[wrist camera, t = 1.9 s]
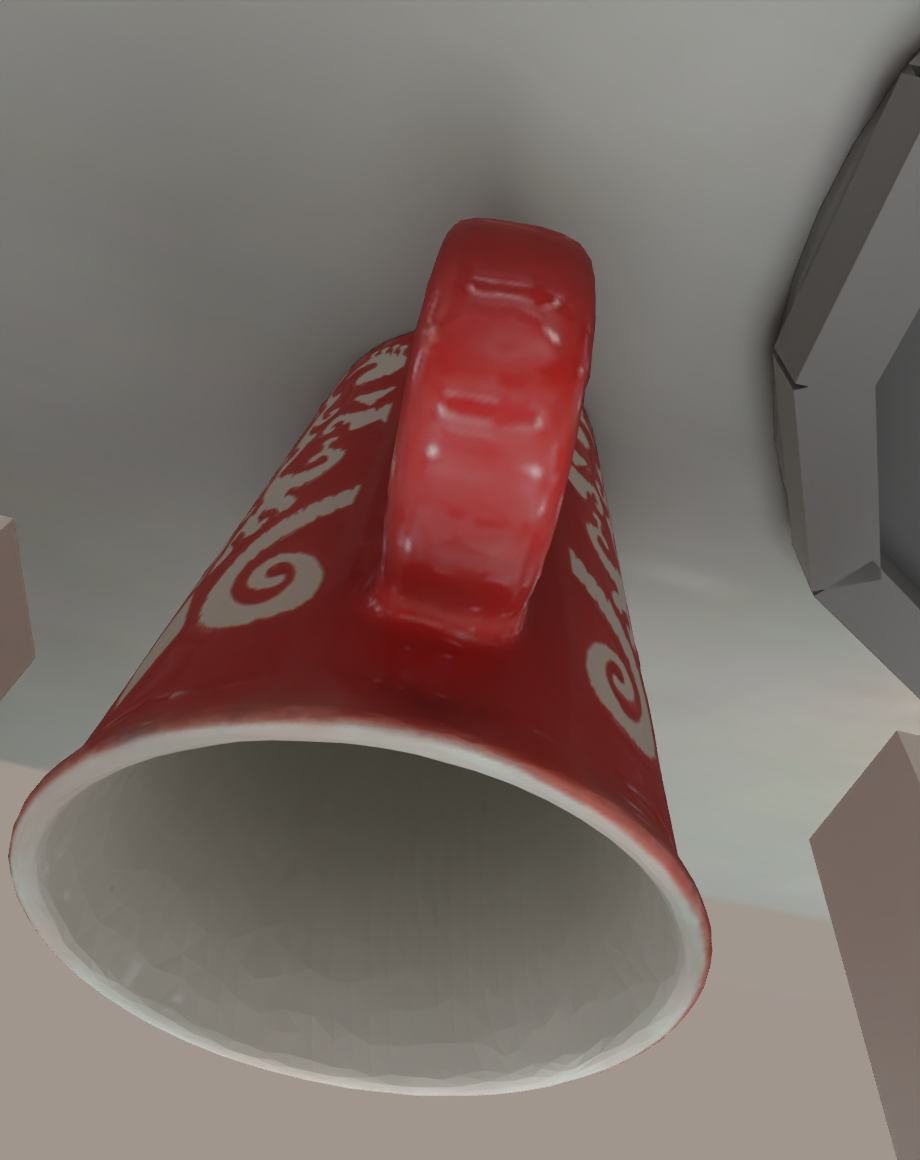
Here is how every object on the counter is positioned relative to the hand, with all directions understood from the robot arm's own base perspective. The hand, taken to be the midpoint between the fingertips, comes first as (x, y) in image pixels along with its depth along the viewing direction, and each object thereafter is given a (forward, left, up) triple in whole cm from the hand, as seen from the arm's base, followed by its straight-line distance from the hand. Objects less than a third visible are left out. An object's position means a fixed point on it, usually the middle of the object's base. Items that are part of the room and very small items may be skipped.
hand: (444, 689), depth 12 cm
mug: (0, 0, -10) cm, 10 cm away
